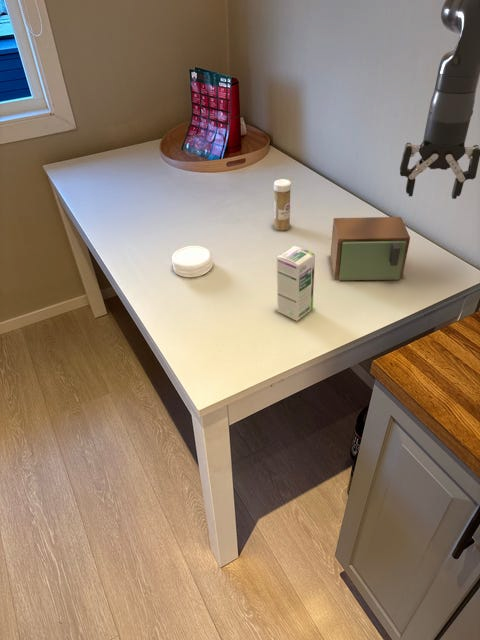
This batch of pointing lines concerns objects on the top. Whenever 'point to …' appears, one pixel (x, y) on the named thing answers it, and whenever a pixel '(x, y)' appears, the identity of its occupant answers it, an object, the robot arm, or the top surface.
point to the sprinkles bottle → (282, 204)
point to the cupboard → (366, 235)
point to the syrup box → (295, 282)
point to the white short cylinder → (192, 261)
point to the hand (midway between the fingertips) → (431, 196)
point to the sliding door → (372, 260)
